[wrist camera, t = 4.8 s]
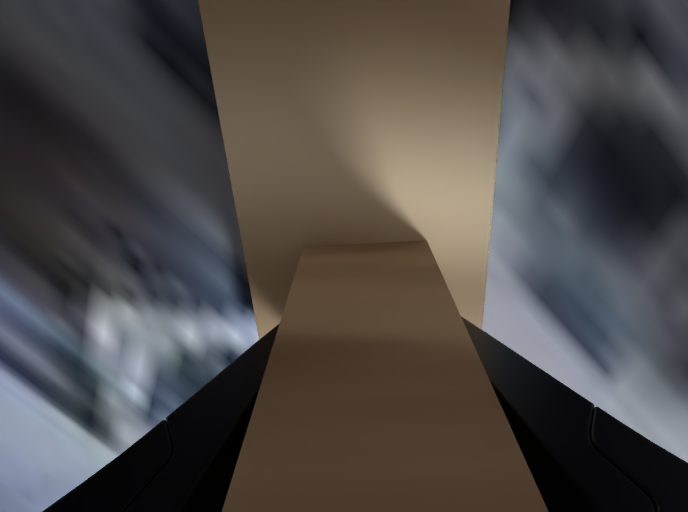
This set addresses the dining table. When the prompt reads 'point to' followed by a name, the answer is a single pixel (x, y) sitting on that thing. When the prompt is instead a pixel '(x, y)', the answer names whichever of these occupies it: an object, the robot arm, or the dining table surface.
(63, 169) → the dining table surface
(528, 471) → the tan boxy piece
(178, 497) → the robot arm
